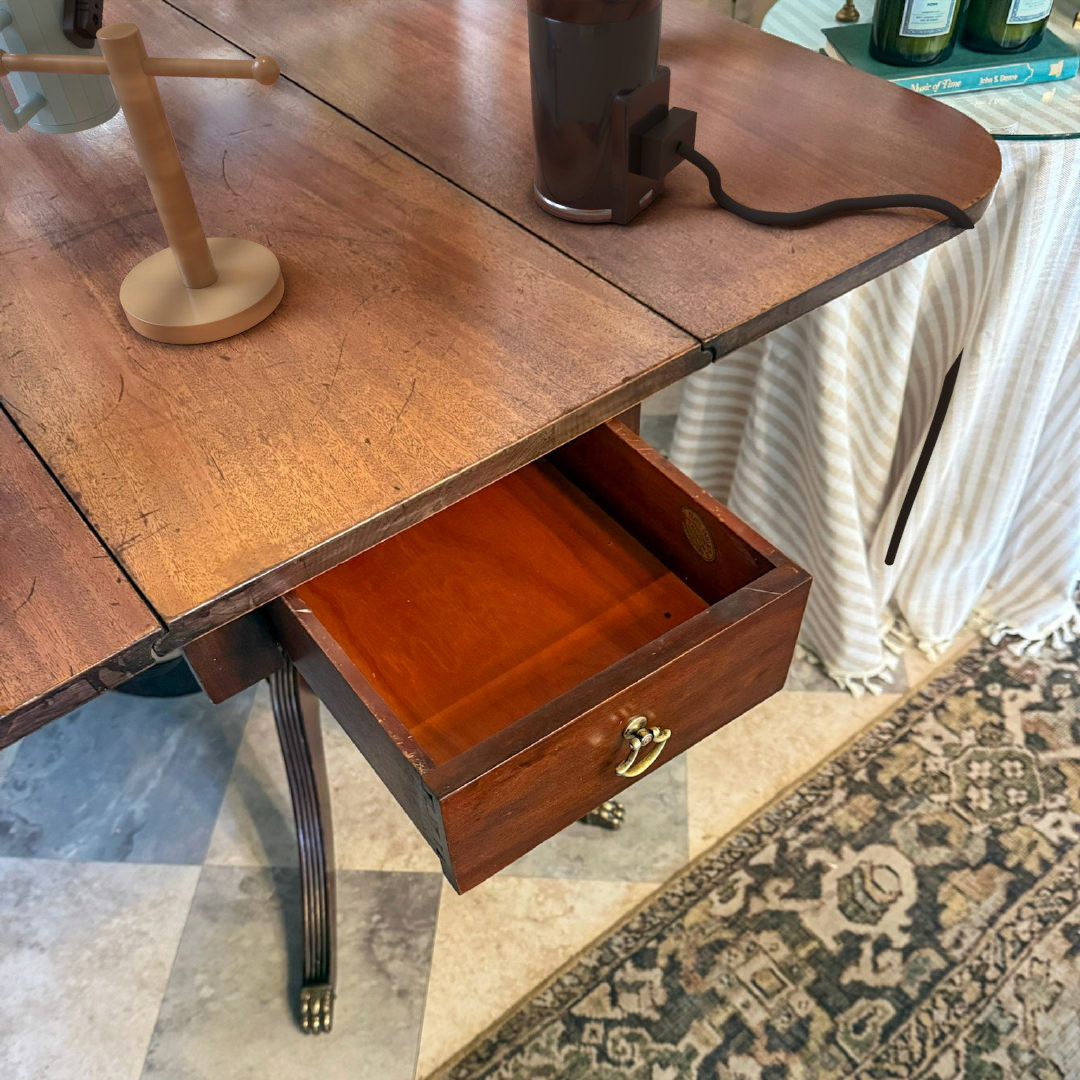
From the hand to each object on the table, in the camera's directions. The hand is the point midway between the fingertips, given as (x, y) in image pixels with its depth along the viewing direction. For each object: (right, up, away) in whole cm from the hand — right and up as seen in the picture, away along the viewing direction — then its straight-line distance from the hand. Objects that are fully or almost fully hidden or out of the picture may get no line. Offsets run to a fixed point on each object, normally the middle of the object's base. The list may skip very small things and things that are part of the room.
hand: (29, 41), depth 62 cm
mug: (0, -4, +4) cm, 5 cm away
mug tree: (+8, -14, +9) cm, 18 cm away
